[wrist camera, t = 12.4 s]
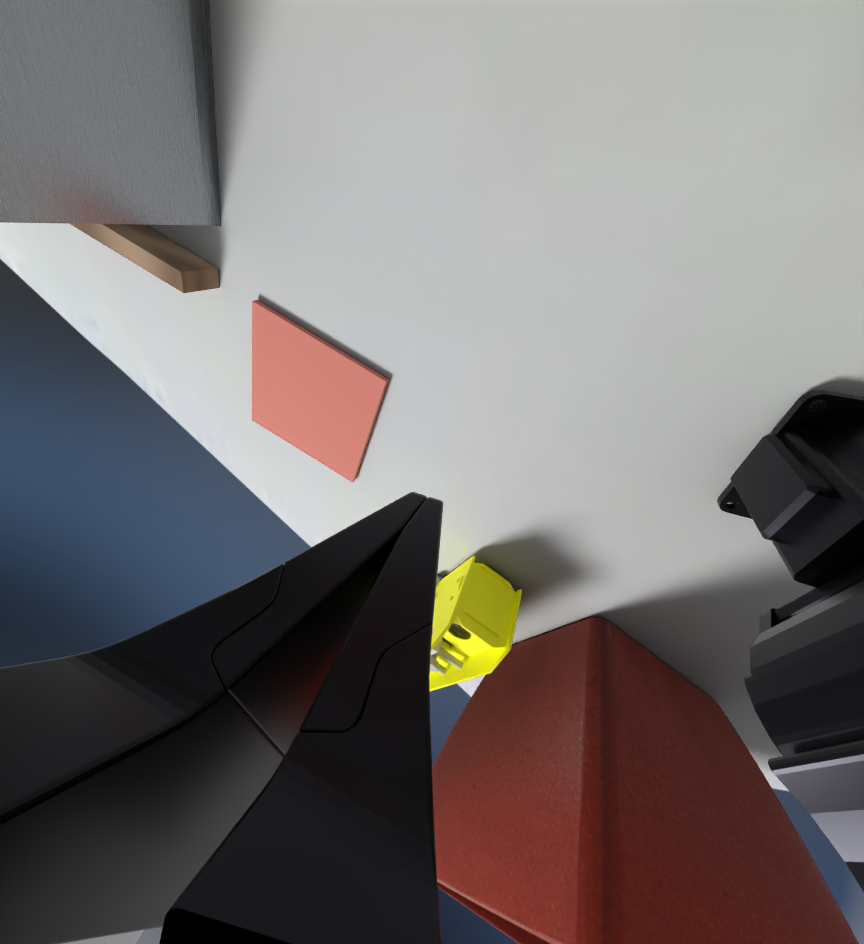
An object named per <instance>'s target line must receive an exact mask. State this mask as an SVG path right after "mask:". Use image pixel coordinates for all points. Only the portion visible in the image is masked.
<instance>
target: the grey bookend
mask: <svg viewBox="0 0 864 944" xmlns="http://www.w3.org/2000/svg"><path fill="white" fill-rule="evenodd" d="M0 222H17V223H81V224H145V225H209V226H221V216H220V198H219V179H218V160H217V141H216V123H215V104H214V85H213V67H212V48H211V29H210V10H209V0H0Z"/></svg>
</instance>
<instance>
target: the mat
mask: <svg viewBox="0 0 864 944" xmlns="http://www.w3.org/2000/svg"><path fill="white" fill-rule="evenodd" d="M388 381H389V379H387V378H386V377H384V376H382V375H381V374H379V373H377V372H376V371H374V370H372V369H371V368H369V367H367V366H366V365H364V364H362V363H361V362H359V361H357V360H356V359H354V358H352V357H351V356H349V355H347V354H346V353H344V352H342V351H341V350H339V349H338V348H336V347H334V346H333V345H331V344H329V343H328V342H326V341H324V340H323V339H321V338H319V337H318V336H316V335H314V334H313V333H311V332H309V331H308V330H306V329H304V328H303V327H301V326H299V325H298V324H296V323H294V322H293V321H291V320H289V319H288V318H286V317H285V316H283V315H281V314H280V313H278V312H276V311H275V310H273V309H271V308H270V307H268V306H266V305H265V304H263V303H261V302H260V301H258V300H255V301H252V420H253V421H254V422H256V423H258V424H259V425H261V426H263V427H264V428H266V429H267V430H269V431H271V432H272V433H274V434H275V435H277V436H279V437H280V438H282V439H284V440H285V441H287V442H288V443H290V444H292V445H293V446H295V447H296V448H298V449H300V450H301V451H303V452H304V453H306V454H308V455H309V456H311V457H313V458H314V459H316V460H317V461H319V462H321V463H322V464H324V465H325V466H327V467H329V468H330V469H332V470H334V471H335V472H337V473H338V474H340V475H342V476H343V477H345V478H346V479H348V480H350V481H351V482H354V480H355V479H356V476H357V473H358V470H359V467H360V464H361V461H362V458H363V455H364V452H365V449H366V446H367V443H368V441H369V438H370V435H371V432H372V429H373V426H374V423H375V420H376V417H377V414H378V411H379V408H380V405H381V402H382V399H383V396H384V393H385V390H386V387H387V384H388Z"/></svg>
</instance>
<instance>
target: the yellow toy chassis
mask: <svg viewBox="0 0 864 944" xmlns="http://www.w3.org/2000/svg"><path fill="white" fill-rule="evenodd" d="M475 558H476V557H475V556H472V557H471V558H470V559H468V560H467V561H466V562H464V563H463V564H462V565H460V566H459V567H458V568H456V569H455V570H454V571H452V572H451V573H450V574H448V575H447V576H446V577H444V578H443V579H442V580H441V581H439V578H438V577H437V582H436V593H435V605H434V616H433V627H432V628H433V630H432V642H431V657H430V677H429V679H430V691H432V690H435V689H439V688H442V687H446V686H449V685H453V684H456V683H459V682H463V681H466V680H470V679H473V678H476V677H480V676H483V675H486V674H490V673H492V671H493V670H494V669H495V668H496V667H497V665H498V664H499V663H500V662H501V661H502V659H503V658H504V657H505V656H506V655H507V653H508V652H509V651H510V650H511V647H512V642H513V636H514V631H515V626H516V621H517V616H518V611H519V606H520V601H521V596H522V590H521V589H520V590H518V591H516V592H515V591H514V589H513V588H512V585H511V584H510V583H509V582H508V581H507V580H506V579H504V578H503V577H501V576H500V575H499V574H497V573H496V572H495V571H493V570H492V569H490V568H489V567H488V566H486V565H485V564H484V563H475V562H474V561H475Z"/></svg>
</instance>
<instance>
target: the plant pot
mask: <svg viewBox="0 0 864 944" xmlns="http://www.w3.org/2000/svg"><path fill="white" fill-rule="evenodd" d="M432 780H433V806H434V830H435V851H436V870H437V887H438V888H439V889H441V890H442V891H444V892H445V893H447V894H448V895H450V896H451V897H452V898H454V899H455V900H457V901H458V902H460V903H461V904H462V905H464V906H465V907H467V908H468V909H470V910H471V911H472V912H474V913H476V914H477V915H479V916H480V917H481V918H483V919H484V920H486V921H487V922H488V923H490V924H491V925H493V926H494V927H496V928H497V929H498V930H500V931H501V932H503V933H504V934H505V935H507V936H508V937H510V938H511V939H513V940H514V941H516V942H517V943H518V944H859V943H858V941H857V940H856V938H855V936H854V934H853V932H852V930H851V928H850V926H849V924H848V922H847V921H846V919H845V917H844V916H843V913H842V911H841V910H840V908H839V906H838V904H837V902H836V900H835V899H834V897H833V895H832V893H831V891H830V889H829V888H828V886H827V884H826V882H825V880H824V878H823V877H822V875H821V873H820V871H819V870H818V867H817V866H816V864H815V862H814V860H813V858H812V857H811V855H810V853H809V852H808V850H807V848H806V846H805V844H804V843H803V841H802V839H801V837H800V836H799V834H798V832H797V831H796V829H795V827H794V825H793V824H792V822H791V820H790V819H789V817H788V815H787V813H786V811H785V810H784V808H783V806H782V805H781V803H780V801H779V800H778V798H777V797H776V795H775V793H774V791H773V790H772V788H771V786H770V785H769V783H768V781H767V780H766V778H765V776H764V775H763V773H762V771H761V770H760V768H759V767H758V765H757V763H756V762H755V760H754V759H753V757H752V755H751V754H750V752H749V751H748V749H747V747H746V746H745V744H744V743H743V741H742V740H741V738H740V736H739V735H738V733H737V732H736V730H735V728H734V727H733V725H732V724H731V722H730V721H729V719H728V718H727V716H726V715H725V713H724V712H723V711H722V709H721V708H720V706H719V705H718V703H716V702H715V701H714V700H713V699H711V698H710V697H709V696H707V695H706V694H705V693H703V692H702V691H701V690H699V689H698V688H697V687H695V686H694V685H693V684H691V683H690V682H689V681H687V680H686V679H685V678H683V677H682V676H681V675H679V674H678V673H677V672H675V671H674V670H673V669H671V668H670V667H669V666H667V665H666V664H665V663H663V662H662V661H661V660H659V659H658V658H657V657H655V656H654V655H653V654H651V653H650V652H649V651H647V650H646V649H645V648H643V647H642V646H641V645H639V644H638V643H637V642H635V641H634V640H632V639H631V638H630V637H629V636H627V635H626V634H624V633H623V632H622V631H620V630H619V629H618V628H617V627H615V626H614V625H612V624H611V623H610V622H608V621H606V620H603V619H600V618H589V619H586V620H583V621H580V622H577V623H574V624H571V625H568V626H565V627H563V628H560V629H557V630H554V631H552V632H549V633H546V634H543V635H540V636H538V637H535V638H532V639H529V640H526V641H523V642H521V643H518V644H515V645H512V647H511V650H510V651H509V652H508V653H507V655H506V656H505V657H504V658H503V659H502V661H501V662H500V663H499V664H498V665H497V667H496V668H495V669H494V670H493V671H492V673H490V674H486V675H485V677H484V678H483V680H482V681H481V683H480V685H479V686H478V688H477V689H476V691H475V693H474V694H473V696H472V697H471V699H470V701H469V702H468V704H467V706H466V707H465V709H464V710H463V712H462V714H461V716H460V717H459V719H458V721H457V722H456V724H455V726H454V727H453V729H452V731H451V733H450V735H449V736H448V738H447V740H446V742H445V744H444V746H443V748H442V750H441V751H440V753H439V755H438V757H437V759H436V761H435V763H434V765H433V767H432Z"/></svg>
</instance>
